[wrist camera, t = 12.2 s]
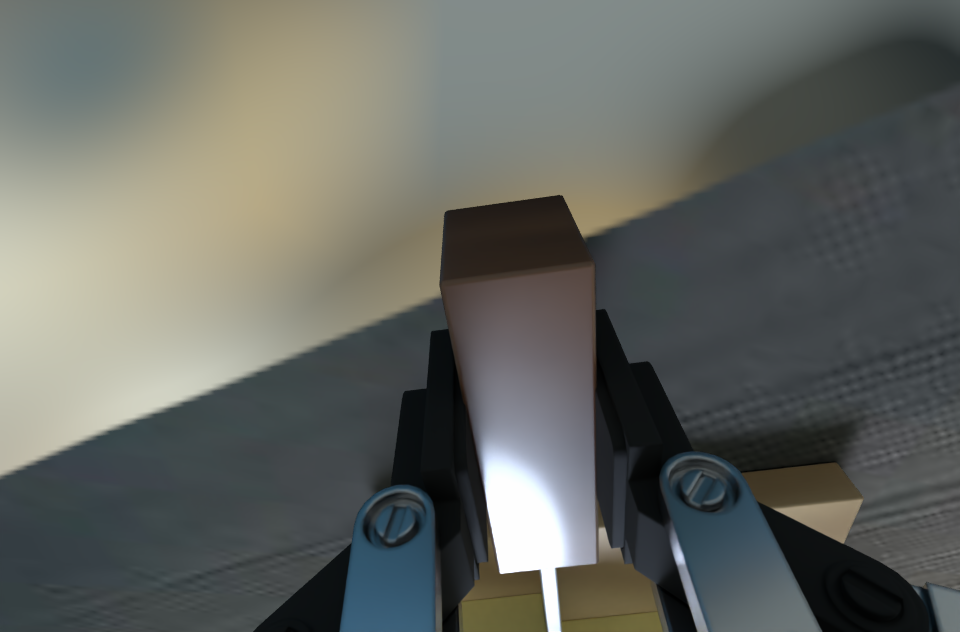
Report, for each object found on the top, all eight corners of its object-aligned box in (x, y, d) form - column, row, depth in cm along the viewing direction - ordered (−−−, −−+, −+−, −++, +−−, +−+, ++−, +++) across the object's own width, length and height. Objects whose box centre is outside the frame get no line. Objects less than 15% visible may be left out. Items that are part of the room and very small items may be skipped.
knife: (443, 209, 10) (438, 283, 8) (563, 193, 10) (596, 261, 8) (519, 631, 20) (528, 727, 17) (583, 624, 19) (601, 720, 17)
